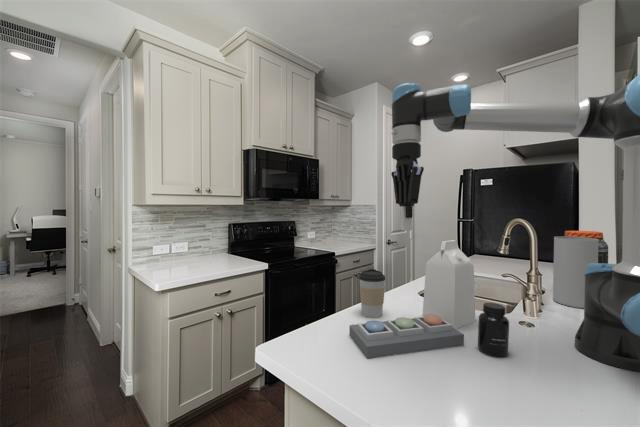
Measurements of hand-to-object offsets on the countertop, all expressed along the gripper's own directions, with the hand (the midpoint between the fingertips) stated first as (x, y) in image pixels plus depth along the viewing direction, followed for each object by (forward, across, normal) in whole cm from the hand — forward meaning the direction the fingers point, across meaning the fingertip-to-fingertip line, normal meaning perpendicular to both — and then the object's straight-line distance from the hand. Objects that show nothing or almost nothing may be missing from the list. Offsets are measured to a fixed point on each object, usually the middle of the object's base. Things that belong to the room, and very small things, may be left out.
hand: (406, 229), depth 80 cm
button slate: (+27, 0, -9) cm, 29 cm away
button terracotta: (+27, 0, +9) cm, 29 cm away
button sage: (+27, 0, 0) cm, 27 cm away
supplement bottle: (+31, +11, +18) cm, 38 cm away
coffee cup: (+31, -20, -1) cm, 37 cm away
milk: (+31, -10, +22) cm, 39 cm away
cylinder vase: (+32, -11, +78) cm, 85 cm away
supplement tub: (+32, -23, +100) cm, 107 cm away
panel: (+31, 0, 0) cm, 31 cm away
